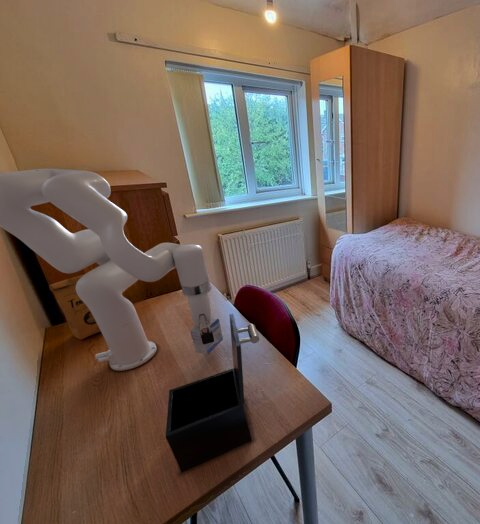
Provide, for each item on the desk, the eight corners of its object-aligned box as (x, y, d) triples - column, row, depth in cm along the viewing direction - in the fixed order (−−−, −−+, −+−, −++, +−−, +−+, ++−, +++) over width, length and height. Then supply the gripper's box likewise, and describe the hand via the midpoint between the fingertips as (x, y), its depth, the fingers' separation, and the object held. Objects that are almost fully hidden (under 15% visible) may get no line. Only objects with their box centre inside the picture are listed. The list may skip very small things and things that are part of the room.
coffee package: (120, 326, 108) (98, 274, 99) (78, 344, 99) (49, 289, 90) (112, 317, 114) (90, 267, 105) (72, 333, 105) (44, 280, 96)
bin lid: (236, 346, 56) (262, 340, 58) (229, 313, 66) (251, 310, 68) (240, 405, 61) (264, 397, 64) (233, 366, 72) (254, 361, 74)
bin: (181, 472, 61) (165, 436, 56) (182, 424, 71) (169, 390, 66) (252, 441, 67) (242, 405, 62) (243, 400, 77) (235, 367, 72)
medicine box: (207, 355, 89) (202, 333, 85) (195, 353, 89) (189, 330, 86) (223, 339, 96) (219, 318, 92) (212, 337, 96) (207, 316, 93)
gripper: (182, 276, 89) (194, 322, 96) (181, 304, 75) (195, 354, 82) (208, 272, 92) (218, 316, 99) (212, 297, 78) (223, 347, 85)
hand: (207, 333), depth 91 cm, fingers closed on medicine box, 8 cm apart
